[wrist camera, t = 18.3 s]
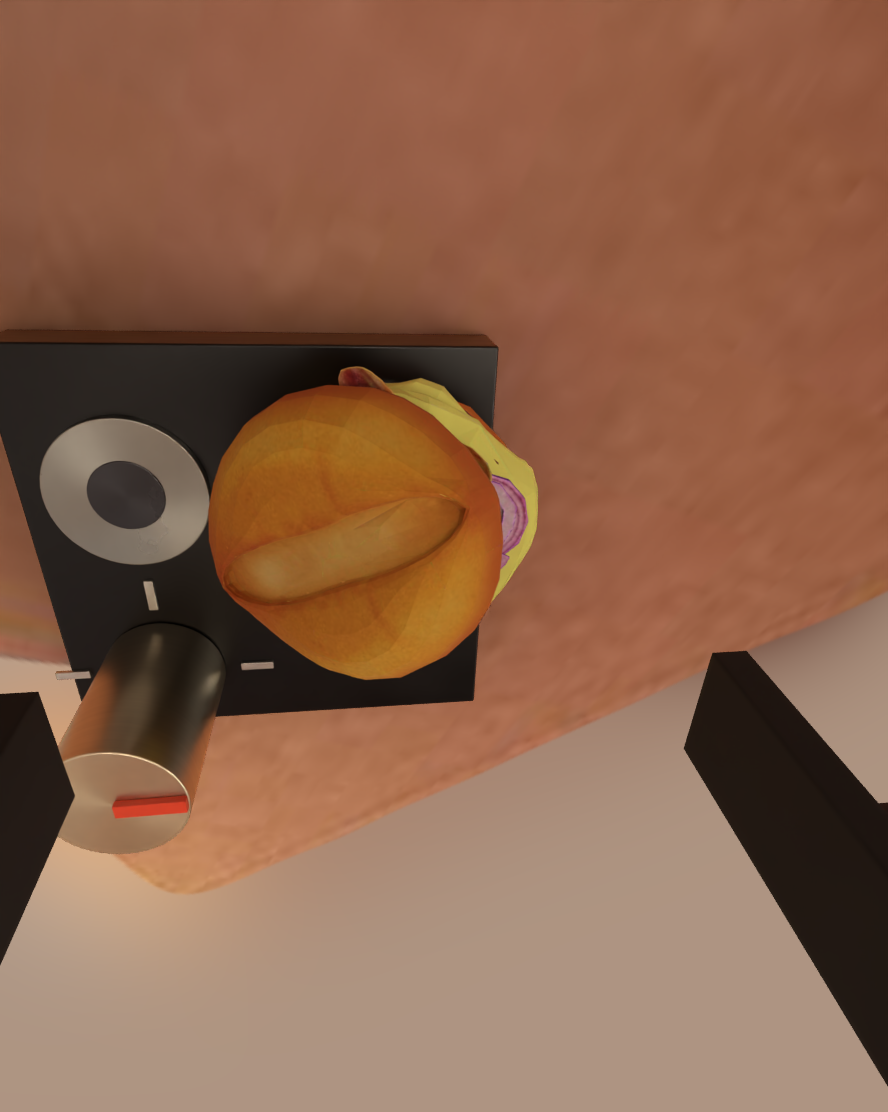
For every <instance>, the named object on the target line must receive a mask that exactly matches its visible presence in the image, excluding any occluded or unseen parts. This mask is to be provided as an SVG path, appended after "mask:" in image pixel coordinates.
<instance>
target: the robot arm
mask: <svg viewBox="0 0 888 1112" xmlns="http://www.w3.org/2000/svg"><path fill="white" fill-rule="evenodd" d="M684 750H685V751H686V753H687V755H688V756H689V758H690V760H691V761H692V763H693V765H694V766H695V768H696V770H697V771H698V773H699V775H700V776H701V778H702V780H703V781H704V783H705V784H706V786H707V788H708V790H709V791H710V793H711V794H712V796H713V798H714V799H715V801H716V803H717V804H718V806H719V808H720V809H721V811H722V813H723V814H724V816H725V818H726V819H727V821H728V823H729V824H730V826H731V828H732V829H733V831H734V832H735V834H736V836H737V837H738V839H739V841H740V842H741V844H742V846H743V847H744V849H745V851H746V852H747V854H748V856H749V857H750V859H751V861H752V862H753V864H754V866H755V867H756V869H757V871H758V872H759V874H760V876H761V877H762V879H763V881H764V882H765V884H766V886H767V887H768V889H769V891H770V892H771V894H772V895H773V897H774V899H775V900H776V902H777V904H778V905H779V907H780V909H781V910H782V912H783V914H784V915H785V917H786V919H787V920H788V922H789V924H790V925H791V927H792V928H793V930H794V932H795V934H796V935H797V937H798V939H799V940H800V942H801V943H802V945H803V947H804V948H805V950H806V952H807V953H808V955H809V957H810V958H811V960H812V962H813V963H814V965H815V967H816V968H817V970H818V972H819V973H820V975H821V977H822V978H823V980H824V981H825V983H826V985H827V987H828V988H829V990H830V992H831V993H832V995H833V996H834V998H835V1000H836V1001H837V1003H838V1005H839V1006H840V1008H841V1010H842V1011H843V1013H844V1015H845V1016H846V1018H847V1020H848V1021H849V1023H850V1024H851V1026H852V1028H853V1029H854V1031H855V1033H856V1035H857V1036H858V1038H859V1040H860V1041H861V1043H862V1044H863V1046H864V1048H865V1049H866V1051H867V1053H868V1054H869V1056H870V1058H871V1059H872V1061H873V1063H874V1064H875V1066H876V1068H877V1069H878V1071H879V1073H880V1074H881V1076H882V1078H883V1079H884V1081H885V1083H886V1084H887V1086H888V803H877V801H876V800H875V799H874V798H873V796H872V795H871V794H870V793H869V792H868V791H867V790H866V788H865V787H864V786H863V785H862V784H861V783H860V782H859V780H858V779H857V778H856V777H855V776H854V775H853V773H852V772H851V771H850V770H849V769H848V768H847V767H846V765H845V764H844V763H843V762H842V761H841V760H840V759H839V757H838V756H837V755H836V754H835V753H834V752H833V750H832V749H831V748H830V747H829V746H828V745H827V743H826V742H825V741H824V740H823V739H822V738H821V737H820V735H819V734H818V733H817V732H816V731H815V730H814V728H813V727H812V726H811V725H810V724H809V723H808V721H807V720H806V719H805V718H804V717H803V716H802V715H801V714H800V712H799V711H798V710H797V709H796V708H795V706H794V705H793V704H792V703H791V702H790V701H789V700H788V698H787V697H786V696H785V695H784V694H783V693H782V691H781V690H780V689H779V688H778V687H777V686H776V685H775V683H774V682H773V681H772V680H771V679H770V678H769V676H768V675H767V674H766V673H765V672H764V671H763V670H762V669H761V667H760V666H759V665H758V664H757V663H756V661H755V660H754V659H753V658H752V657H751V656H750V655H749V654H748V652H747V651H738V652H720V653H712V656H711V659H710V663H709V666H708V669H707V673H706V676H705V679H704V683H703V686H702V689H701V693H700V696H699V699H698V703H697V706H696V709H695V713H694V716H693V719H692V723H691V726H690V729H689V733H688V736H687V739H686V743H685V746H684ZM74 798H75V794H74V791H73V789H72V786H71V783H70V780H69V777H68V774H67V772H66V769H65V766H64V763H63V760H62V757H61V755H60V752H59V749H58V746H57V743H56V741H55V738H54V735H53V732H52V729H51V727H50V724H49V721H48V718H47V715H46V712H45V709H44V707H43V704H42V701H41V698H40V696H39V693H38V692H27V693H10V694H0V964H1V962H2V960H3V958H4V955H5V953H6V951H7V949H8V946H9V944H10V942H11V940H12V937H13V935H14V933H15V931H16V928H17V926H18V924H19V922H20V919H21V917H22V915H23V913H24V910H25V908H26V906H27V904H28V901H29V899H30V897H31V895H32V892H33V890H34V888H35V886H36V883H37V881H38V879H39V876H40V874H41V872H42V870H43V868H44V865H45V863H46V861H47V858H48V856H49V854H50V852H51V849H52V847H53V845H54V843H55V840H56V838H57V836H58V834H59V831H60V829H61V827H62V825H63V822H64V820H65V818H66V816H67V813H68V811H69V809H70V807H71V804H72V802H73V800H74Z"/></svg>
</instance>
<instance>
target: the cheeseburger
mask: <svg viewBox="0 0 888 1112" xmlns="http://www.w3.org/2000/svg"><path fill="white" fill-rule="evenodd" d="M338 380H339V386H338V385H325V386H321V387H316V388H312V389H308V390H303V391H299V392H295V393H291V394H286V395H285V396H283V397H282V398H280V399H279V400H277V401H276V402H274V403H273V404H272V405H270V406H269V407H267V408H266V409H264V410H263V411H261V412H260V413H258V414H257V415H255V416H254V417H253V418H251V419H250V420H249V421H248V422H247V423H246V424H245V425H244V426H243V428H242V429H241V430H240V432H239V433H238V435H237V436H236V438H235V439H234V441H233V442H232V444H231V445H230V447H229V448H228V449H227V451H226V452H225V454H224V455H223V457H222V459H221V462H220V465H219V468H218V471H217V474H216V477H215V480H214V483H213V488H212V493H211V498H210V503H209V509H208V518H209V543H210V547H211V551H212V555H213V559H214V563H215V567H216V572H217V575H218V578H219V580H220V582H221V584H222V587H223V589H224V590H225V591H226V592H227V593H228V594H229V595H230V596H231V597H232V598H233V600H234V601H235V602H237V603H238V604H239V605H240V606H242V607H243V608H244V609H246V610H247V611H249V612H250V613H251V614H252V615H253V616H254V617H255V618H256V619H257V620H259V621H260V622H261V623H262V624H263V625H265V626H266V627H267V628H268V629H269V630H270V631H272V632H273V633H274V634H275V635H276V636H278V637H279V638H280V639H281V640H282V641H284V642H285V643H287V644H288V645H289V646H291V647H292V648H294V649H295V650H296V651H298V652H299V653H301V654H302V655H303V656H305V657H306V658H308V659H310V660H311V661H313V662H315V663H316V664H318V665H320V666H322V667H324V668H326V669H328V670H331V671H335V672H338V673H342V674H346V675H349V676H352V677H356V678H360V679H364V680H372V679H385V678H399V677H403V676H405V675H407V674H409V673H411V672H413V671H415V670H418V669H420V668H422V667H424V666H426V665H428V664H430V663H432V662H434V661H436V660H438V659H441V658H443V657H445V656H446V655H448V654H449V653H450V652H451V651H452V650H453V649H454V648H455V647H456V646H458V645H459V644H460V643H461V642H462V641H463V640H464V639H465V638H466V637H468V636H469V635H470V634H471V633H472V632H473V631H474V630H475V629H476V627H477V625H478V624H479V622H480V621H481V619H482V617H483V616H484V614H485V612H486V611H487V609H488V608H489V606H490V604H491V602H492V601H493V599H494V598H495V597H496V596H497V595H498V593H499V592H500V591H501V590H502V589H503V588H504V586H505V585H506V584H507V582H508V581H509V579H510V578H511V576H512V575H513V573H514V572H515V570H516V569H517V567H518V566H519V564H520V563H521V561H522V560H523V558H524V556H525V555H526V553H527V552H528V550H529V549H530V547H531V544H532V541H533V538H534V535H535V532H536V529H537V514H538V487H537V484H536V480H535V476H534V473H533V469H532V468H531V467H530V466H528V464H527V462H526V461H525V460H523V459H520V458H519V457H518V456H516V455H515V454H514V453H513V452H511V451H510V450H509V449H507V447H506V444H505V443H504V442H503V441H502V440H501V439H500V438H499V437H498V436H497V435H496V434H495V433H494V432H493V431H492V429H491V428H490V427H489V426H488V425H487V424H486V423H485V422H484V421H483V420H482V419H481V418H480V417H479V416H478V415H477V414H476V413H475V412H474V410H473V409H472V408H471V407H469V406H467V405H464V404H462V403H459V402H457V401H456V400H455V399H454V398H453V397H452V395H451V394H450V393H449V392H448V391H447V390H446V388H445V387H444V386H441V385H439V384H436V383H433V382H430V381H428V380H425V379H422V378H418V379H414V380H410V381H405V382H401V383H384V382H383V381H382V380H381V379H380V378H379V377H378V376H376V375H375V374H374V373H373V372H371V371H370V370H368V369H366V368H364V367H358V366H356V367H348V368H345V369H342V370H341V371H340V374H339V377H338Z"/></svg>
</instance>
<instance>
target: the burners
mask: <svg viewBox="0 0 888 1112" xmlns="http://www.w3.org/2000/svg"><path fill="white" fill-rule="evenodd" d="M40 489H41V494H42V498H43V501H44V504H45V506H46V509H47V510H48V512H49V514H50V516H51V518H52V519H53V521H54V522H55V524H56V525H57V526H58V527H59V528H60V530H61V531H62V532H63V533H64V534H65V535H66V536H67V537H68V538H70V539H71V540H72V541H73V542H74V543H76V544H77V545H79V546H80V547H81V548H83V549H85V550H87V551H88V552H90V553H92V554H94V555H96V556H99V557H101V558H104V559H107V560H110V561H114V562H118V563H123V564H131V565H145V564H154V563H159V562H163V561H166V560H169V559H172V558H174V557H176V556H178V555H180V554H181V553H183V552H184V551H186V550H187V549H189V548H190V547H191V546H192V545H193V544H194V543H195V542H196V541H197V539H198V538H199V537H200V535H201V534H202V532H203V530H204V529H205V526H206V524H207V522H208V519H209V518H208V509H209V503H210V498H211V489H210V484H209V480H208V478H207V475H206V472H205V470H204V468H203V466H202V465H201V463H200V461H199V460H198V458H197V457H196V456H195V454H194V453H193V452H192V451H191V450H190V449H189V447H188V446H187V445H186V444H184V443H183V442H182V441H181V440H180V439H179V438H178V437H176V436H175V435H173V434H172V433H170V432H169V431H167V430H165V429H164V428H162V427H160V426H158V425H156V424H153V423H151V422H148V421H145V420H142V419H139V418H134V417H129V416H120V415H107V416H98V417H93V418H89V419H86V420H84V421H81V422H79V423H77V424H75V425H73V426H71V427H70V428H68V429H67V430H66V431H64V432H63V433H62V434H60V435H59V436H58V437H57V438H56V439H55V440H54V441H53V442H52V444H51V445H50V447H49V448H48V450H47V452H46V454H45V456H44V458H43V461H42V465H41V469H40Z"/></svg>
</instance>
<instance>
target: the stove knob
mask: <svg viewBox="0 0 888 1112" xmlns="http://www.w3.org/2000/svg"><path fill="white" fill-rule="evenodd" d="M225 677H226V668H225V663H224V660H223V658H222V656H221V654H220V652H219V651H218V649H217V648H216V647H215V645H214V644H213V643H212V642H211V641H209V640H208V639H207V638H206V637H204V636H203V635H201V634H200V633H198V632H196V631H194V630H192V629H189V628H186V627H183V626H179V625H175V624H167V623H155V624H147V625H143V626H139V627H136V628H134V629H132V630H130V631H128V632H126V633H124V634H123V635H121V636H120V637H119V638H118V639H117V640H116V641H115V642H114V644H113V645H112V647H111V648H110V650H109V652H108V654H107V656H106V657H105V659H104V661H103V663H102V665H101V667H100V669H99V671H98V672H97V674H96V676H95V678H94V680H93V682H92V684H91V686H90V687H89V689H88V691H87V693H86V695H85V697H84V699H83V701H82V703H81V704H80V706H79V708H78V710H77V712H76V714H75V715H74V717H73V719H72V721H71V723H70V725H69V727H68V729H67V731H66V732H65V734H64V736H63V738H62V740H61V742H60V744H59V745H58V749H59V752H60V755H61V757H62V760H63V763H64V766H65V769H66V772H67V774H68V777H69V780H70V783H71V786H72V789H73V791H74V794H75V798H74V800H73V802H72V804H71V807H70V809H69V811H68V813H67V816H66V818H65V820H64V822H63V825H62V827H61V829H60V831H59V834H58V837H59V838H61V839H63V840H64V841H66V842H68V843H70V844H72V845H75V846H77V847H80V848H83V849H86V850H90V851H95V852H100V853H108V854H130V853H138V852H142V851H147V850H150V849H153V848H156V847H158V846H161V845H163V844H165V843H166V842H168V841H170V840H171V839H173V838H174V837H175V836H177V834H178V833H179V832H180V831H181V830H182V829H183V828H184V826H185V825H186V823H187V821H188V819H189V817H190V813H191V809H192V805H193V801H194V798H195V794H196V790H197V786H198V782H199V778H200V774H201V771H202V767H203V763H204V759H205V755H206V751H207V747H208V744H209V740H210V736H211V732H212V728H213V724H214V720H215V717H216V713H217V709H218V705H219V701H220V697H221V693H222V690H223V686H224V682H225Z"/></svg>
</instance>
